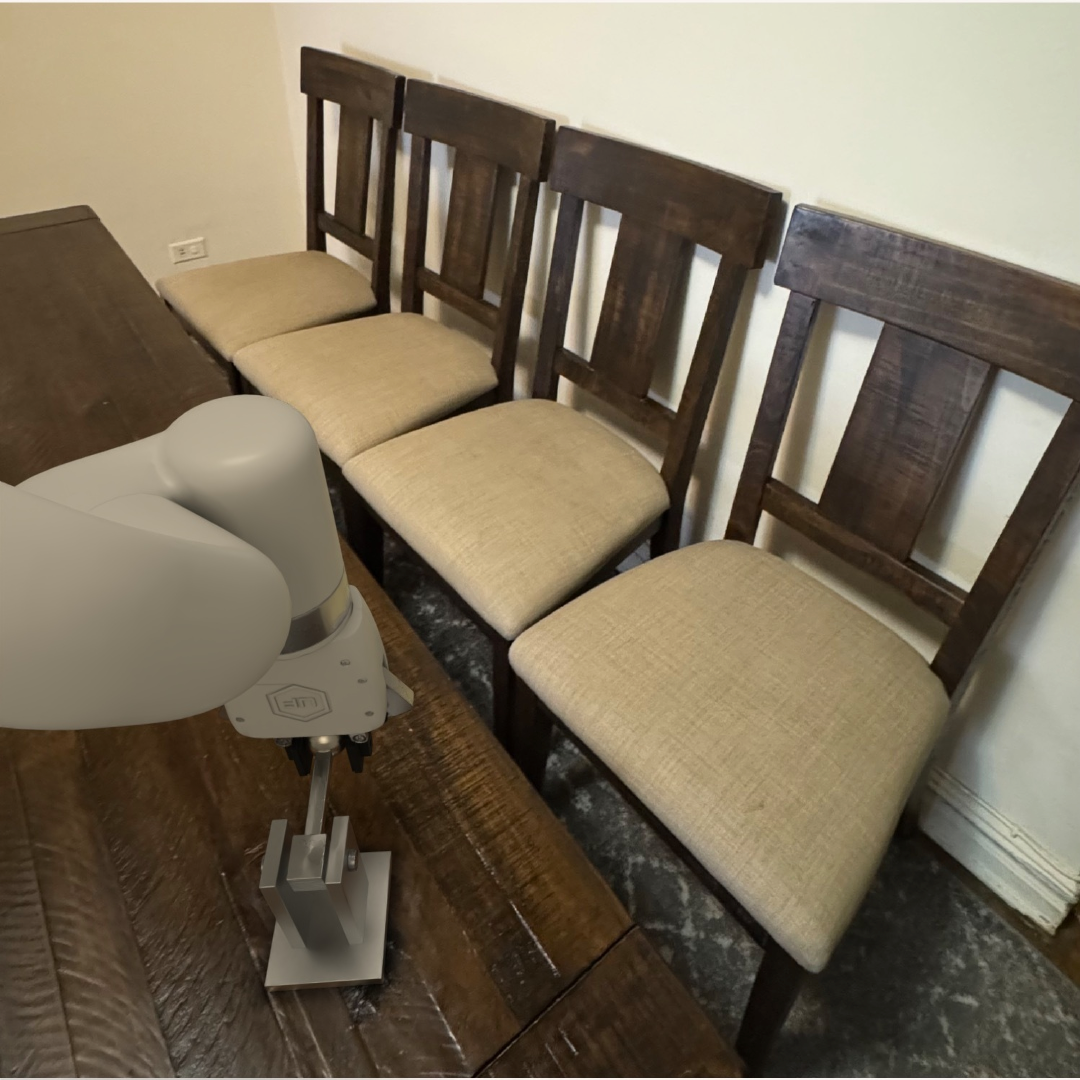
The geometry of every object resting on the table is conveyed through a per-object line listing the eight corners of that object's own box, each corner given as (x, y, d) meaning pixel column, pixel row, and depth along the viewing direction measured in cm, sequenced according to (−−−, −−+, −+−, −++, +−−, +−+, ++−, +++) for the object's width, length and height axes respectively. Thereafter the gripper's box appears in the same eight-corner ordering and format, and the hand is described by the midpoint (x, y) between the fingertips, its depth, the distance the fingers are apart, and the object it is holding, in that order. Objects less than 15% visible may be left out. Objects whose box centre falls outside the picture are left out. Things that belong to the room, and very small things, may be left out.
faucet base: (289, 863, 58) (255, 788, 50) (392, 857, 59) (375, 782, 51) (267, 991, 52) (224, 929, 44) (383, 983, 52) (361, 920, 44)
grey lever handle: (311, 727, 57) (303, 706, 54) (354, 725, 57) (348, 705, 55) (287, 894, 49) (276, 878, 46) (336, 891, 49) (328, 875, 47)
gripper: (119, 651, 41) (211, 810, 53) (421, 639, 42) (441, 797, 55) (160, 556, 46) (234, 720, 59) (426, 547, 47) (443, 710, 60)
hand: (333, 756), depth 57 cm, fingers closed on grey lever handle, 3 cm apart
